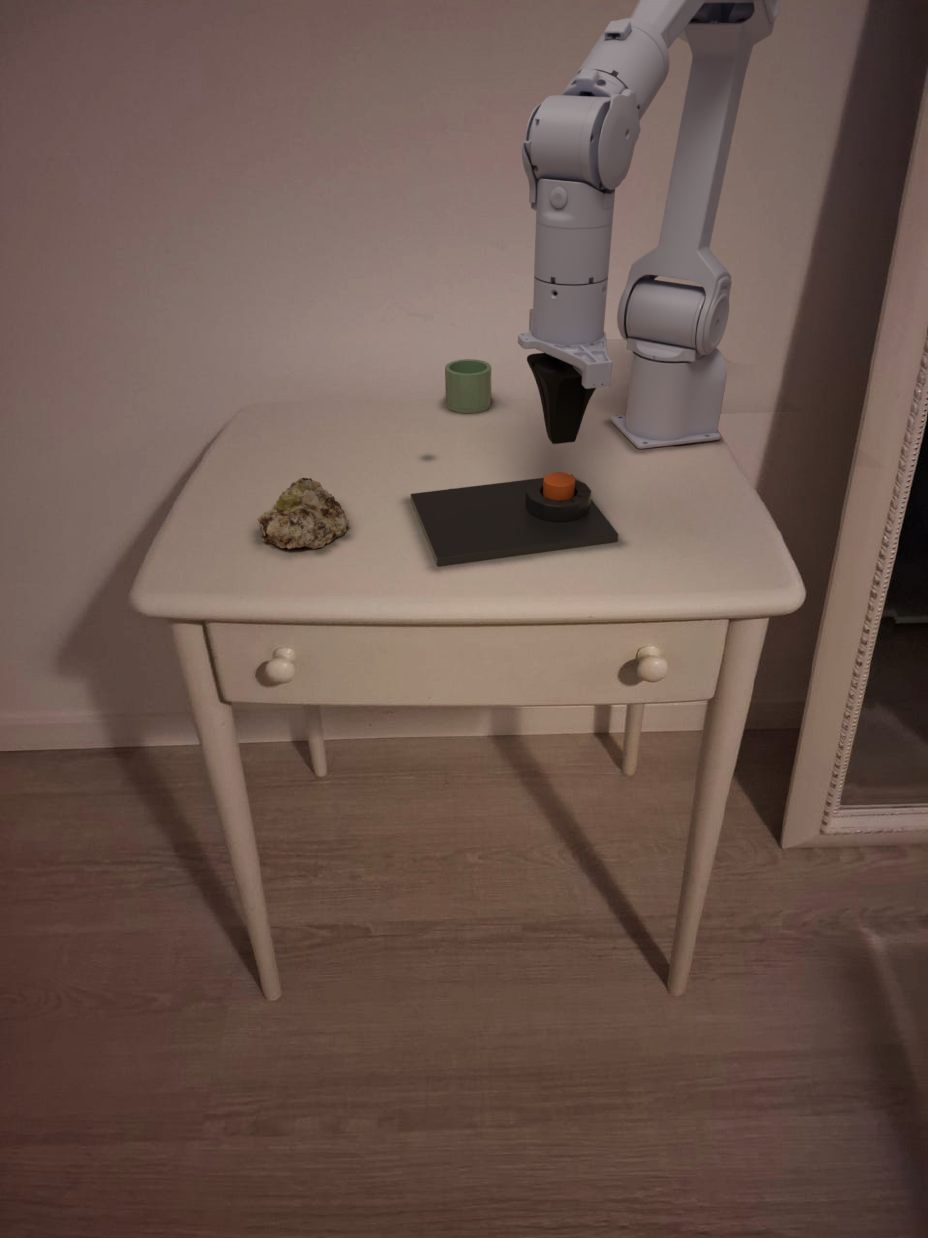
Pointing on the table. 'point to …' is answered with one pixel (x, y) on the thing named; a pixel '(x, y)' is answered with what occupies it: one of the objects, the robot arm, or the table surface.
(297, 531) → the mineral rock
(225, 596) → the table surface
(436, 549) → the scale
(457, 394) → the cup
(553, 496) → the power button
